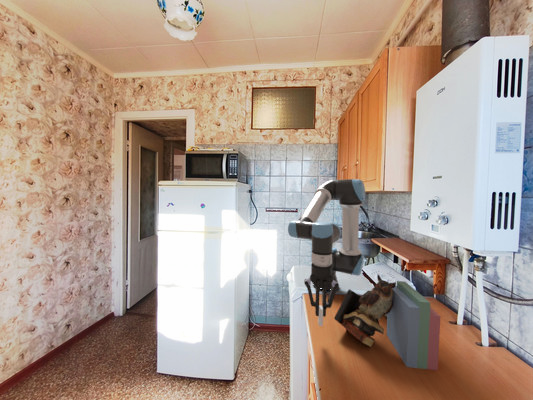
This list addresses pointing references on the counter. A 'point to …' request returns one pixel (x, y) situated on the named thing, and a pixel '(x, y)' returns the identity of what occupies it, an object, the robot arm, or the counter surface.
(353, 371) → the counter surface
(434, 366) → the book row
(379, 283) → the bookend
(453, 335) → the counter surface
